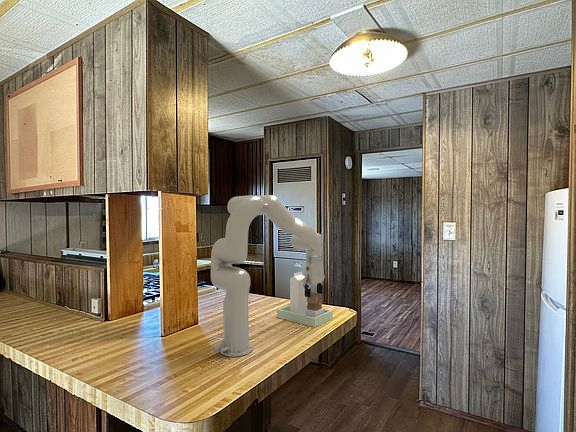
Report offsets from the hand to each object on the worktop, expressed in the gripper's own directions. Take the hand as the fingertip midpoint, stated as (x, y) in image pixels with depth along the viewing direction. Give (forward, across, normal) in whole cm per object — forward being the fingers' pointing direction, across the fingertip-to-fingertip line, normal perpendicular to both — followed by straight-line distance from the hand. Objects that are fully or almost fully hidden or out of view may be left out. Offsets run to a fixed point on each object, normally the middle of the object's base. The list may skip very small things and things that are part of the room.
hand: (313, 295), depth 159 cm
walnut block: (+7, +1, 0) cm, 7 cm away
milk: (+13, +2, +11) cm, 17 cm away
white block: (+13, +1, 0) cm, 13 cm away
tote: (+13, +1, +6) cm, 14 cm away
